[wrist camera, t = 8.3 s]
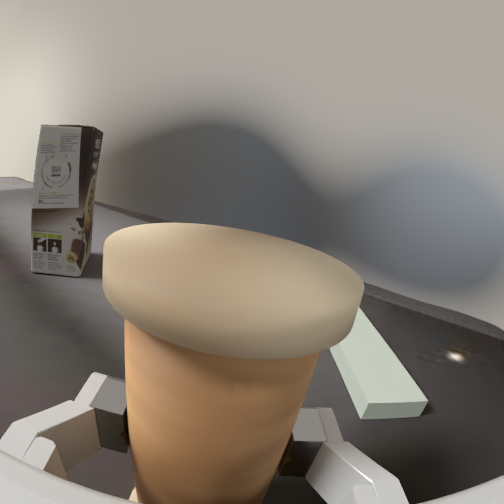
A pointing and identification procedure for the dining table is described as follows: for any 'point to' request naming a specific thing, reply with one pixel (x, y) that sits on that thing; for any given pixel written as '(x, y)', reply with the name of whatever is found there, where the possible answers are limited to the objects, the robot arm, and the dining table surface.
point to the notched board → (376, 375)
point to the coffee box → (64, 198)
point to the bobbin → (219, 352)
